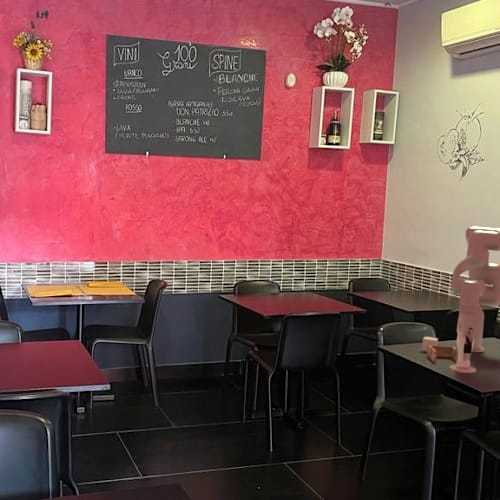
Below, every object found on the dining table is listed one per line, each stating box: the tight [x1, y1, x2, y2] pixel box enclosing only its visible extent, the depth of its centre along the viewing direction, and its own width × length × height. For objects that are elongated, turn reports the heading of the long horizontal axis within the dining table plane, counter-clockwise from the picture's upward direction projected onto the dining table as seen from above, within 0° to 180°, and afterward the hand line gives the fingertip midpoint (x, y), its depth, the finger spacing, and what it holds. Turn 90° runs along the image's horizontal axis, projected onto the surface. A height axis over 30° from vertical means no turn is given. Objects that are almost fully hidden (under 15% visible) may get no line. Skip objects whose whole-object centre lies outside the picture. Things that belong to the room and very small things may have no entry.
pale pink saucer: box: [448, 364, 477, 374], centre depth 292 cm, size 11×11×1 cm
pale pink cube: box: [421, 336, 439, 353], centre depth 322 cm, size 6×6×6 cm
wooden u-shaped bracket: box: [426, 345, 457, 363], centre depth 307 cm, size 12×12×5 cm
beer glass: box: [455, 331, 474, 368], centre depth 291 cm, size 7×7×15 cm
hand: (464, 350), depth 291 cm, fingers closed on beer glass, 6 cm apart
